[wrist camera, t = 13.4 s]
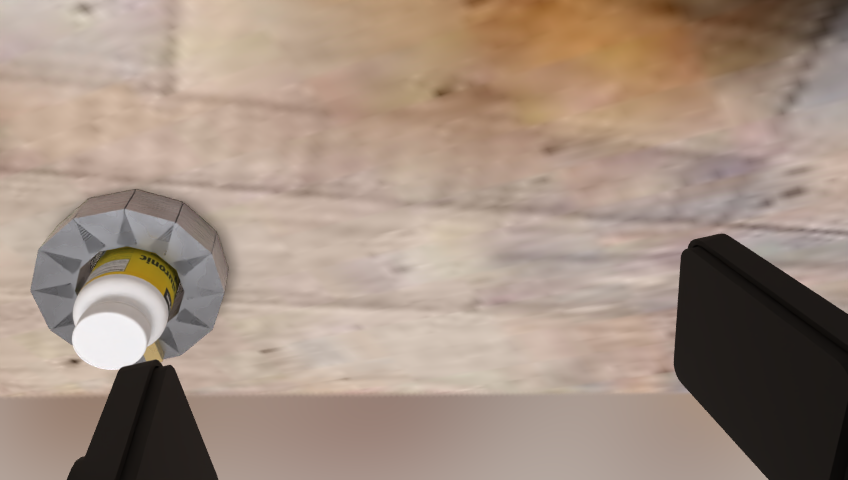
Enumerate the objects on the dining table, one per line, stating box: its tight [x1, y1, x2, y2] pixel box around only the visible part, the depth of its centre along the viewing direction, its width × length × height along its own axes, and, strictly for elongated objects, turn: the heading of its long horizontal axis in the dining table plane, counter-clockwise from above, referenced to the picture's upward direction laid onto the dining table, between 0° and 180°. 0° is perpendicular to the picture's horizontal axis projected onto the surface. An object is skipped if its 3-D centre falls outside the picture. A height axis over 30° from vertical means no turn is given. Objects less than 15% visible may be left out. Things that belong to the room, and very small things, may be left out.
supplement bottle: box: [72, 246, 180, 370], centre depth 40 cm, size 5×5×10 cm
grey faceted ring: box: [31, 189, 228, 364], centre depth 42 cm, size 12×12×4 cm
